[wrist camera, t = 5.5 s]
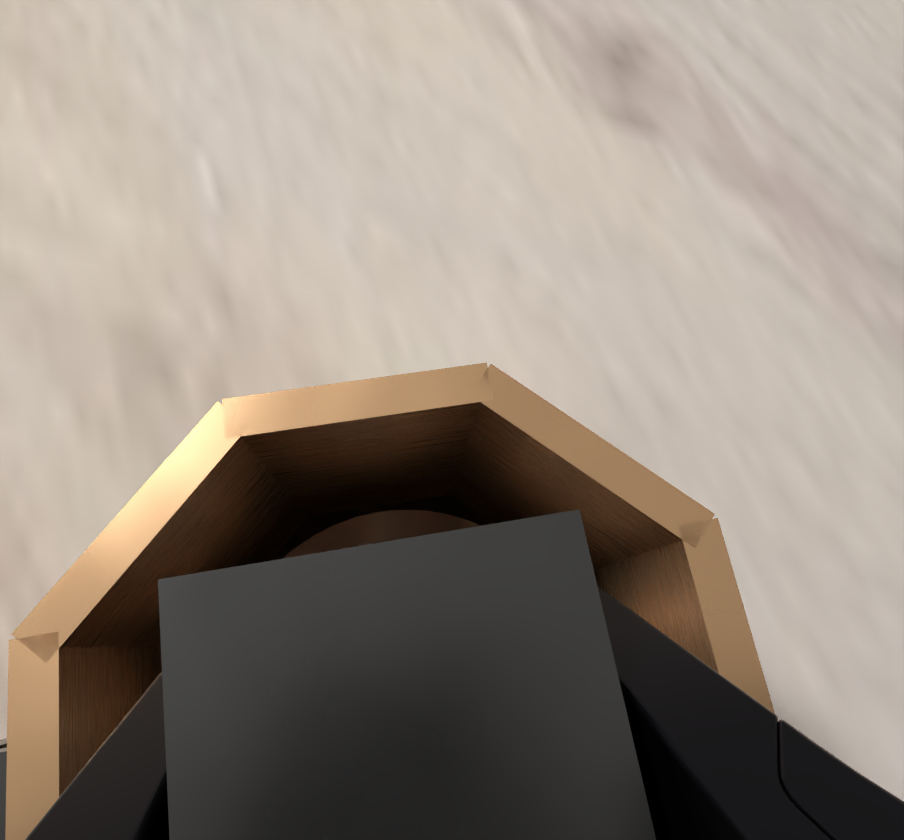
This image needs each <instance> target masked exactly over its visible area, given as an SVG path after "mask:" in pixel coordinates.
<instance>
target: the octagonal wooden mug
mask: <svg viewBox="0 0 904 840" xmlns="http://www.w3.org/2000/svg"><path fill="white" fill-rule="evenodd" d="M222 403H223V405H222V404H220V403H219V402H217V403H216V404H215V405H214V406H213V407H212V408H211V410H210V411H209V412H208V413H207V414H206V415H205V416H204V417H203V419H202V420H201V421H200V422H199V423H198V424H197V425H196V426H195V428H194V429H193V430H192V431H191V432H190V433H189V434H188V436H187V437H186V438H185V439H184V440H183V441H182V442H181V443H180V445H179V446H178V447H177V448H176V449H175V450H174V451H173V452H172V454H171V455H170V456H169V457H168V458H167V459H166V460H165V461H164V463H163V464H162V465H161V466H160V467H159V468H158V469H157V470H156V472H155V473H154V474H153V475H152V476H151V477H150V478H149V480H148V481H147V482H146V483H145V484H144V485H143V486H142V487H141V489H140V490H139V491H138V492H137V493H136V494H135V495H134V496H133V498H132V499H131V500H130V501H129V502H128V503H127V504H126V505H125V507H124V508H123V509H122V510H121V511H120V512H119V513H118V514H117V516H116V517H115V518H114V519H113V520H112V521H111V522H110V524H109V525H108V526H107V527H106V528H105V529H104V530H103V531H102V533H101V534H100V535H99V536H98V537H97V538H96V539H95V540H94V542H93V543H92V544H91V545H90V546H89V547H88V548H87V549H86V551H85V552H84V553H83V554H82V555H81V556H80V557H79V558H78V560H77V561H76V562H75V563H74V564H73V565H72V566H71V568H70V569H69V570H68V571H67V572H66V573H65V574H64V575H63V577H62V578H61V579H60V580H59V581H58V582H57V583H56V584H55V586H54V587H53V588H52V589H51V590H50V591H49V592H48V593H47V595H46V596H45V597H44V598H43V599H42V600H41V601H40V602H39V604H38V605H37V606H36V607H35V608H34V609H33V610H32V612H31V613H30V614H29V615H28V616H27V617H26V618H25V619H24V621H23V622H22V623H21V624H20V625H19V626H18V627H17V628H16V630H15V631H14V632H13V633H12V635H13V636H14V637H15V638H16V639H12V640H9V664H8V719H7V738H6V739H2V740H0V840H25V839H26V837H27V836H28V835H29V834H30V833H31V831H32V830H33V829H34V828H35V826H36V825H37V824H38V823H39V821H40V820H41V819H42V818H43V816H44V815H45V814H46V813H47V812H48V810H49V809H50V808H51V807H52V805H53V804H54V803H55V802H56V800H57V799H58V798H59V797H60V796H61V794H62V793H63V792H64V791H65V789H66V788H67V787H68V786H69V784H70V783H71V782H72V781H73V779H74V778H75V777H76V776H77V775H78V773H79V772H80V771H81V770H82V768H83V767H84V766H85V765H86V763H87V762H88V761H89V760H90V758H91V757H92V756H93V755H94V754H95V752H96V751H97V750H98V749H99V747H100V746H101V745H102V744H103V742H104V741H105V740H106V739H107V737H108V736H109V735H110V734H111V733H112V731H113V730H114V729H115V728H116V726H117V725H118V724H119V723H120V721H121V720H122V719H123V718H124V717H125V715H126V714H127V713H128V712H129V710H130V709H131V708H132V707H133V705H134V704H135V703H136V702H137V700H138V699H139V698H140V697H141V696H142V694H143V693H144V692H145V691H146V689H147V688H148V687H149V686H150V684H151V683H152V682H153V681H154V679H155V678H156V677H157V676H158V675H159V673H160V672H161V671H162V661H161V639H160V616H159V594H158V579H164V578H170V577H176V576H182V575H188V574H194V573H200V572H206V571H212V570H218V569H224V568H230V567H236V566H242V565H248V564H254V563H260V562H266V561H272V560H278V559H283V558H284V557H285V556H286V555H287V554H288V553H289V552H291V551H292V550H293V549H295V548H296V547H297V546H299V545H300V544H302V543H303V542H305V541H306V540H308V539H309V538H311V537H312V536H314V535H316V534H318V533H320V532H322V531H324V530H326V529H327V528H329V527H331V526H333V525H336V524H339V523H341V522H344V521H347V520H350V519H352V518H355V517H359V516H363V515H368V514H372V513H376V512H383V511H394V510H425V511H431V512H437V513H443V514H449V515H452V516H455V517H459V518H462V519H465V520H469V521H471V522H474V523H476V524H478V525H480V526H483V525H489V524H495V523H501V522H507V521H513V520H519V519H525V518H531V517H537V516H543V515H549V514H555V513H561V512H567V511H573V510H579V509H580V514H581V518H582V522H583V527H584V531H585V535H586V539H587V544H588V548H589V552H590V557H591V561H592V565H593V570H594V574H595V578H596V582H597V585H598V586H599V587H600V588H602V589H603V590H604V591H606V592H607V593H609V594H610V595H611V596H613V597H614V598H615V599H617V600H618V601H620V602H621V603H622V604H624V605H625V606H627V607H628V608H629V609H631V610H632V611H633V612H635V613H636V614H638V615H639V616H640V617H642V618H643V619H644V620H646V621H647V622H649V623H650V624H651V625H653V626H654V627H655V628H657V629H658V630H660V631H661V632H662V633H664V634H665V635H667V636H668V637H669V638H671V639H672V640H673V641H675V642H676V643H678V644H679V645H680V646H682V647H683V648H684V649H686V650H687V651H689V652H690V653H691V654H693V655H694V656H695V657H697V658H698V659H700V660H701V661H702V662H704V663H705V664H706V665H708V666H709V667H711V668H712V669H713V670H715V671H716V672H718V673H719V674H720V675H722V676H723V677H724V678H726V679H727V680H729V681H730V682H731V683H733V684H734V685H735V686H737V687H738V688H740V689H741V690H742V691H744V692H745V693H746V694H748V695H749V696H751V697H752V698H753V699H755V700H756V701H758V702H759V703H760V704H762V705H763V706H764V707H766V708H767V709H769V710H770V711H771V712H773V713H774V709H773V706H772V702H771V699H770V695H769V692H768V689H767V685H766V682H765V678H764V675H763V671H762V668H761V665H760V661H759V658H758V654H757V651H756V648H755V644H754V641H753V637H752V634H751V630H750V627H749V624H748V620H747V617H746V613H745V610H744V606H743V603H742V600H741V596H740V593H739V589H738V586H737V583H736V579H735V576H734V572H733V569H732V565H731V562H730V559H729V555H728V552H727V548H726V545H725V541H724V538H723V535H722V531H721V528H720V524H719V521H718V518H715V519H712V518H713V516H714V513H712V512H711V511H709V510H708V509H707V508H705V507H704V506H702V505H701V504H699V503H698V502H696V501H695V500H693V499H692V498H690V497H689V496H687V495H686V494H684V493H683V492H681V491H680V490H678V489H677V488H675V487H674V486H672V485H671V484H669V483H668V482H666V481H665V480H663V479H662V478H660V477H659V476H657V475H656V474H654V473H653V472H651V471H650V470H648V469H647V468H645V467H644V466H642V465H641V464H639V463H638V462H637V461H635V460H634V459H632V458H631V457H629V456H628V455H626V454H625V453H623V452H622V451H620V450H619V449H617V448H616V447H614V446H613V445H611V444H610V443H608V442H607V441H605V440H604V439H602V438H601V437H599V436H598V435H596V434H595V433H593V432H592V431H590V430H589V429H587V428H586V427H584V426H583V425H581V424H580V423H578V422H577V421H575V420H574V419H572V418H571V417H569V416H568V415H567V414H565V413H564V412H562V411H561V410H559V409H558V408H556V407H555V406H553V405H552V404H550V403H549V402H547V401H546V400H544V399H543V398H541V397H540V396H538V395H537V394H535V393H534V392H532V391H531V390H529V389H528V388H526V387H525V386H523V385H522V384H520V383H519V382H517V381H516V380H514V379H513V378H511V377H510V376H508V375H507V374H505V373H504V372H502V371H501V370H499V369H498V368H496V367H495V366H494V365H492V364H491V365H490V366H489V367H488V368H487V363H481V364H474V365H467V366H459V367H452V368H445V369H438V370H430V371H423V372H416V373H408V374H401V375H394V376H387V377H379V378H372V379H365V380H357V381H350V382H343V383H336V384H328V385H321V386H314V387H307V388H299V389H292V390H285V391H277V392H270V393H263V394H256V395H248V396H241V397H234V398H226V399H222ZM774 714H775V713H774Z"/></svg>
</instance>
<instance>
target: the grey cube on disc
mask: <svg viewBox="0 0 904 840" xmlns="http://www.w3.org/2000/svg"><path fill="white" fill-rule="evenodd" d="M158 594H159V616H160V639H161V661H162V683H163V705H164V727H165V749H166V771H167V794H168V816H169V838H170V840H656V836H655V832H654V828H653V823H652V819H651V815H650V810H649V806H648V802H647V797H646V793H645V789H644V785H643V780H642V776H641V772H640V767H639V763H638V759H637V754H636V750H635V746H634V742H633V737H632V733H631V729H630V724H629V720H628V716H627V711H626V707H625V703H624V699H623V694H622V690H621V686H620V681H619V677H618V673H617V668H616V664H615V660H614V656H613V651H612V647H611V643H610V638H609V634H608V630H607V625H606V621H605V617H604V613H603V608H602V604H601V600H600V595H599V591H598V587H597V582H596V578H595V574H594V570H593V565H592V561H591V557H590V552H589V548H588V544H587V539H586V535H585V531H584V527H583V522H582V518H581V514H580V509H579V510H573V511H567V512H561V513H555V514H549V515H543V516H537V517H531V518H525V519H519V520H513V521H507V522H501V523H495V524H489V525H483V526H480V525H478V524H476V523H474V522H471V521H469V520H465V519H462V518H459V517H455V516H452V515H449V514H443V513H437V512H431V511H425V510H394V511H383V512H376V513H372V514H368V515H363V516H359V517H355V518H352V519H350V520H347V521H344V522H341V523H339V524H336V525H333V526H331V527H329V528H327V529H326V530H324V531H322V532H320V533H318V534H316V535H314V536H312V537H311V538H309V539H308V540H306V541H305V542H303V543H302V544H300V545H299V546H297V547H296V548H295V549H293V550H292V551H291V552H289V553H288V554H287V555H286V556H285V557H284V558H283V559H278V560H272V561H266V562H260V563H254V564H248V565H242V566H236V567H230V568H224V569H218V570H212V571H206V572H200V573H194V574H188V575H182V576H176V577H170V578H164V579H158Z"/></svg>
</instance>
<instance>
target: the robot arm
mask: <svg viewBox="0 0 904 840" xmlns="http://www.w3.org/2000/svg"><path fill="white" fill-rule="evenodd" d="M597 587H598V591H599V595H600V600H601V604H602V608H603V613H604V617H605V621H606V625H607V630H608V634H609V638H610V643H611V647H612V651H613V656H614V660H615V664H616V668H617V673H618V677H619V681H620V686H621V690H622V694H623V699H624V703H625V707H626V711H627V716H628V720H629V724H630V729H631V733H632V737H633V742H634V746H635V750H636V754H637V759H638V763H639V767H640V772H641V776H642V780H643V785H644V789H645V793H646V797H647V802H648V806H649V810H650V815H651V819H652V823H653V828H654V832H655V836H656V840H904V801H902V800H900V799H899V798H897V797H896V796H894V795H893V794H891V793H889V792H888V791H886V790H885V789H883V788H882V787H880V786H878V785H877V784H875V783H874V782H872V781H871V780H869V779H867V778H866V777H864V776H863V775H861V774H860V773H858V772H856V771H855V770H854V769H852V768H851V767H849V766H848V765H846V764H845V763H843V762H842V761H841V760H839V759H838V758H836V757H835V756H833V755H832V754H830V753H829V752H828V751H826V750H825V749H823V748H822V747H820V746H819V745H818V744H816V743H815V742H813V741H812V740H810V739H809V738H808V737H806V736H805V735H803V734H802V733H801V732H799V731H798V730H797V729H795V728H794V727H792V726H791V725H790V724H788V723H787V722H786V721H784V720H780V721H778V718H777V716H776V715H775V714H774V713H773V712H771V711H770V710H769V709H767V708H766V707H764V706H763V705H762V704H760V703H759V702H758V701H756V700H755V699H753V698H752V697H751V696H749V695H748V694H746V693H745V692H744V691H742V690H741V689H740V688H738V687H737V686H735V685H734V684H733V683H731V682H730V681H729V680H727V679H726V678H724V677H723V676H722V675H720V674H719V673H718V672H716V671H715V670H713V669H712V668H711V667H709V666H708V665H706V664H705V663H704V662H702V661H701V660H700V659H698V658H697V657H695V656H694V655H693V654H691V653H690V652H689V651H687V650H686V649H684V648H683V647H682V646H680V645H679V644H678V643H676V642H675V641H673V640H672V639H671V638H669V637H668V636H667V635H665V634H664V633H662V632H661V631H660V630H658V629H657V628H655V627H654V626H653V625H651V624H650V623H649V622H647V621H646V620H644V619H643V618H642V617H640V616H639V615H638V614H636V613H635V612H633V611H632V610H631V609H629V608H628V607H627V606H625V605H624V604H622V603H621V602H620V601H618V600H617V599H615V598H614V597H613V596H611V595H610V594H609V593H607V592H606V591H604V590H603V589H602V588H600V587H599V586H598V585H597ZM25 840H170V838H169V816H168V794H167V771H166V749H165V727H164V705H163V683H162V671H161V672H160V673H159V675H158V676H157V677H156V678H155V679H154V681H153V682H152V683H151V684H150V686H149V687H148V688H147V689H146V691H145V692H144V693H143V694H142V696H141V697H140V698H139V699H138V700H137V702H136V703H135V704H134V705H133V707H132V708H131V709H130V710H129V712H128V713H127V714H126V715H125V717H124V718H123V719H122V720H121V721H120V723H119V724H118V725H117V726H116V728H115V729H114V730H113V731H112V733H111V734H110V735H109V736H108V737H107V739H106V740H105V741H104V742H103V744H102V745H101V746H100V747H99V749H98V750H97V751H96V752H95V754H94V755H93V756H92V757H91V758H90V760H89V761H88V762H87V763H86V765H85V766H84V767H83V768H82V770H81V771H80V772H79V773H78V775H77V776H76V777H75V778H74V779H73V781H72V782H71V783H70V784H69V786H68V787H67V788H66V789H65V791H64V792H63V793H62V794H61V796H60V797H59V798H58V799H57V800H56V802H55V803H54V804H53V805H52V807H51V808H50V809H49V810H48V812H47V813H46V814H45V815H44V816H43V818H42V819H41V820H40V821H39V823H38V824H37V825H36V826H35V828H34V829H33V830H32V831H31V833H30V834H29V835H28V836H27V837H26V839H25Z"/></svg>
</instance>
